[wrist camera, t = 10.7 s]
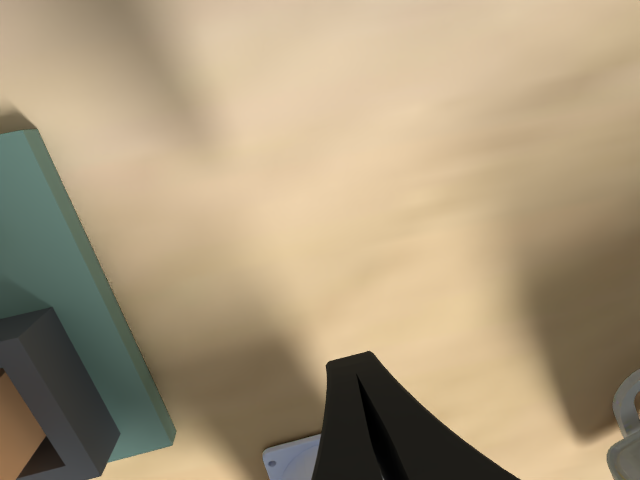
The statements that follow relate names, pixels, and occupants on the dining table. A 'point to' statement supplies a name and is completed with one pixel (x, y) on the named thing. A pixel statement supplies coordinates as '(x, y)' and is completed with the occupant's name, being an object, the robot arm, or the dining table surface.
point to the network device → (626, 432)
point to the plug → (16, 430)
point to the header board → (66, 329)
